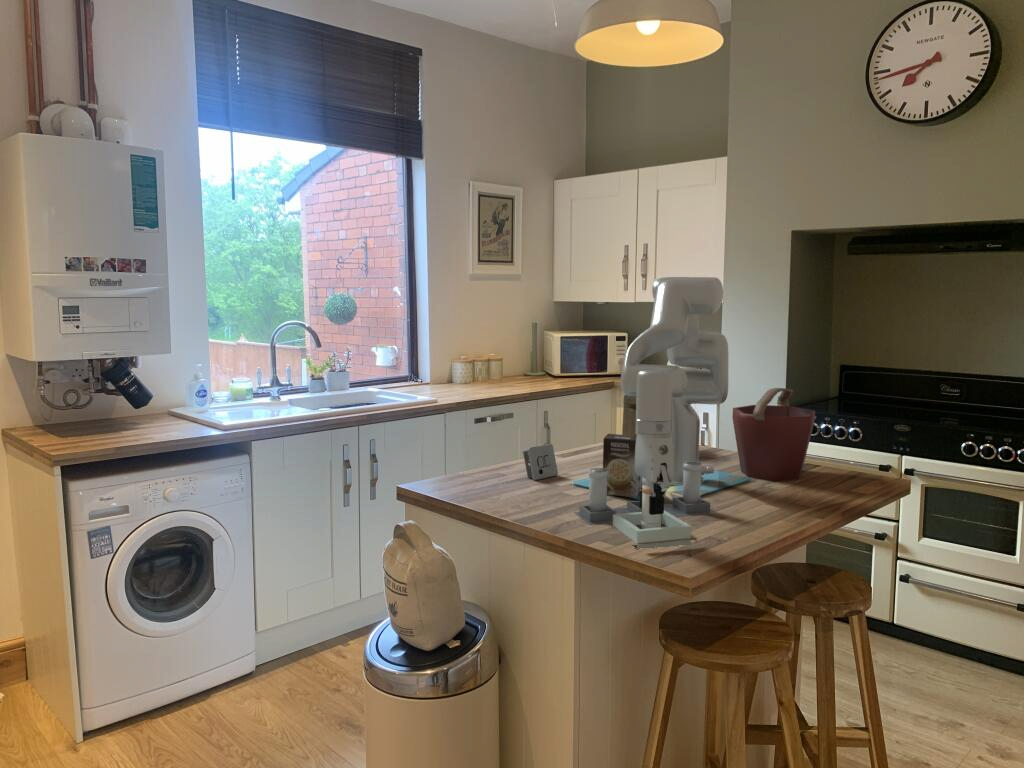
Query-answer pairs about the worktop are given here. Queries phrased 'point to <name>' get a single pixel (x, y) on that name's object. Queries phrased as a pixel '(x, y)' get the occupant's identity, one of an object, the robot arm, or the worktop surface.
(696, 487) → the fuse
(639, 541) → the tray
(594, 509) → the fuse
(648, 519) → the cylinder
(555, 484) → the worktop surface
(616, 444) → the coffee box
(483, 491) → the worktop surface
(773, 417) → the bucket
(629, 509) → the fuse block
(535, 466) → the electrical switch
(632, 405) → the wooden container
